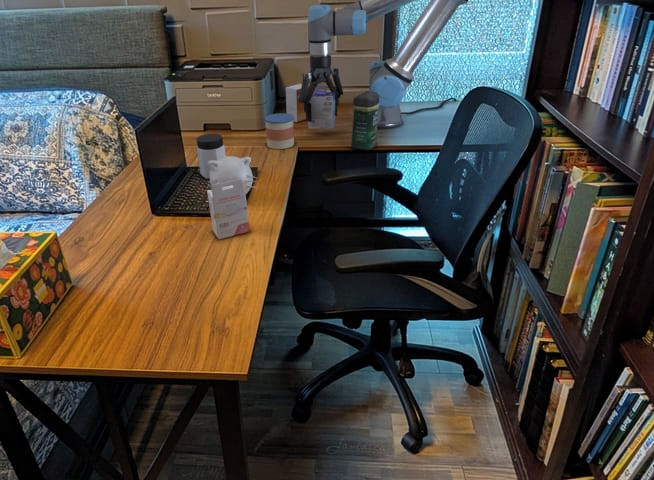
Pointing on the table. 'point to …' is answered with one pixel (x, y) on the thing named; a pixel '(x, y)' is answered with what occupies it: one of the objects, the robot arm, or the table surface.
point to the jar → (209, 151)
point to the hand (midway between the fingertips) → (321, 118)
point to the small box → (295, 103)
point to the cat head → (231, 171)
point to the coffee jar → (365, 120)
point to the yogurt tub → (280, 130)
